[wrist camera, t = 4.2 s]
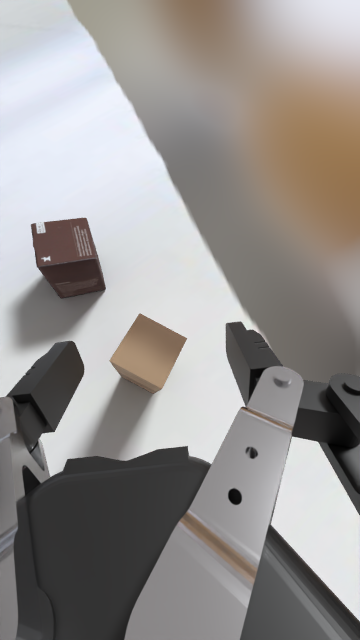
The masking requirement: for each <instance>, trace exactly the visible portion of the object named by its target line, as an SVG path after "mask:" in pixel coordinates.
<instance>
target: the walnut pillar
mask: <svg viewBox="0 0 360 640" xmlns="http://www.w3.org/2000/svg"><path fill="white" fill-rule="evenodd" d="M186 340H187V338H185V337H183V336H182V335H180V334H178V333H176V332H174V331H172V330H170V329H168V328H166V327H165V326H163V325H161V324H159V323H157V322H155V321H153V320H151V319H149V318H148V317H146V316H144V315H142V314H139V315H138V317H137V318H136V320H135V321H134V323H133V325H132V326H131V328H130V329H129V331H128V332H127V334H126V336H125V337H124V339H123V340H122V342H121V343H120V345H119V347H118V348H117V350H116V351H115V353H114V354H113V356H112V358H111V359H110V362H111V364H112V365H113V366H114V368H115V369H116V370H117V372H118V373H119V374H120V376H121V377H123V378H125V379H127V380H128V381H130V382H132V383H134V384H136V385H138V386H140V387H142V388H143V389H145V390H147V391H149V392H151V393H153V394H154V393H156V392H157V391H159V390H161V389H162V388H163V386H164V384H165V382H166V380H167V378H168V376H169V374H170V372H171V370H172V368H173V366H174V364H175V362H176V360H177V358H178V356H179V354H180V352H181V350H182V348H183V346H184V344H185V342H186Z"/></svg>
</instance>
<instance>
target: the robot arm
mask: <svg viewBox="0 0 360 640" xmlns="http://www.w3.org/2000/svg"><path fill="white" fill-rule="evenodd" d="M226 353H227V358H228V361H229V364H230V366H231V369H232V372H233V374H234V377H235V379H236V382H237V385H238V387H239V390H240V393H241V395H242V398H243V400H244V403H245V406H246V408H245V407H241V408H240V410H239V411H238V413H237V415H236V417H235V419H234V421H233V423H232V425H231V427H230V429H229V431H228V433H227V435H226V437H225V439H224V441H223V443H222V445H221V447H220V449H219V451H218V453H217V455H216V457H215V459H214V461H213V463H212V464H210V463H208V462H206V461H204V460H202V459H199V458H196V457H191V456H189V452H188V446H185V447H176V448H167V449H158V450H155V451H153V452H150V453H147V454H145V455H142V456H139V457H137V458H134V459H131V460H128V461H120V460H115V459H110V458H104V457H99V456H93V457H84V458H75V459H67V462H66V464H65V467H64V469H63V471H62V472H60V473H58V474H56V475H54V476H52V477H50V474H49V470H48V465H47V461H46V457H45V453H44V449H43V445H42V442H41V440H40V439H39V438H40V436H41V434H42V433H49V432H55V430H56V428H57V426H58V424H59V422H60V420H61V418H62V416H63V414H64V412H65V410H66V408H67V406H68V404H69V402H70V401H71V399H72V397H73V395H74V393H75V391H76V389H77V387H78V385H79V383H80V381H81V379H82V377H83V375H84V364H83V361H82V359H81V357H80V354H79V352H78V349H77V347H76V345H75V343H74V342H73V341H66V342H58V343H55V344H54V346H53V347H52V348H51V349H50V350H49V352H48V353H46V354H45V355H44V356H42V357H41V358H40V359H38V360H37V361H36V362H35V363H34V365H33V366H32V367H31V369H29V370H28V371H27V373H26V375H24V376H23V377H22V378H21V380H20V381H19V382H18V383H17V384H16V385H15V387H14V388H13V389H12V390H11V391H10V392H9V394H8V395H7V396H6V397H1V398H0V640H360V621H359V620H358V619H357V618H356V617H355V616H354V615H353V614H352V613H351V612H350V610H349V609H348V608H347V607H346V606H345V605H344V604H343V603H342V602H341V601H340V600H339V598H338V597H337V596H336V595H335V594H334V593H333V592H332V591H331V590H330V589H329V588H328V587H327V585H326V584H325V583H324V582H323V581H322V580H321V579H320V578H319V577H318V576H317V575H316V573H315V572H314V571H313V570H312V569H311V568H310V567H309V566H308V565H307V564H306V563H305V561H304V560H303V559H302V558H301V557H300V556H299V555H298V554H297V553H296V552H295V551H294V549H293V548H292V547H291V546H290V545H289V544H288V543H287V542H286V541H285V540H284V539H283V537H282V536H281V535H280V534H279V533H278V532H277V531H276V530H275V529H274V528H273V527H272V526H271V521H272V517H273V513H274V509H275V504H276V500H277V496H278V492H279V488H280V483H281V479H282V475H283V471H284V467H285V463H286V459H287V455H288V451H289V446H290V442H291V438H292V436H293V437H298V438H303V439H308V440H313V441H318V442H319V444H320V446H321V448H322V450H323V451H324V453H325V455H326V457H327V458H328V460H329V462H330V464H331V465H332V467H333V469H334V471H335V473H336V474H337V476H338V478H339V480H340V481H341V483H342V485H343V487H344V488H345V490H346V492H347V494H348V496H349V497H350V499H351V501H352V503H353V504H354V506H355V508H356V510H357V512H358V513H359V515H360V377H359V376H356V375H351V374H336V375H334V376H332V377H331V378H330V381H329V383H321V382H313V381H306V380H303V379H302V378H301V376H300V375H299V374H298V373H296V372H295V371H293V370H291V369H289V368H286V367H283V365H282V364H281V363H280V361H279V360H278V359H277V357H276V356H275V354H274V353H273V351H272V350H271V348H269V346H268V344H267V343H266V342H265V340H264V339H263V337H262V336H261V335H260V334H259V333H257V332H256V331H254V330H246V328H245V327H244V325H243V323H242V322H232V323H226Z"/></svg>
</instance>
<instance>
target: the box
mask: <svg viewBox="0 0 360 640" xmlns="http://www.w3.org/2000/svg"><path fill="white" fill-rule="evenodd" d="M31 229H32V236H33V247H34V249H35V257H36V264H37V267H38V268H39V270H40V271H41V273H42V274H43V275H44V277H45V278H46V279H47V281H48V282H49V283H50V285H51V286H52V287H53V289H54V290H55V291H56V292H57V294H58V295H59V296H60V298H66V297H71V296H76V295H80V294H85V293H90V292H95V291H100V290H105V289H106V287H105V283H104V278H103V273H102V270H101V266H100V262H99V258H98V255H97V252H96V248H95V245H94V242H93V238H92V235H91V232H90V228H89V225H88V221H87V219H86V218H77V219H69V220H60V221H50V222H40V223H34V224H31Z"/></svg>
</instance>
